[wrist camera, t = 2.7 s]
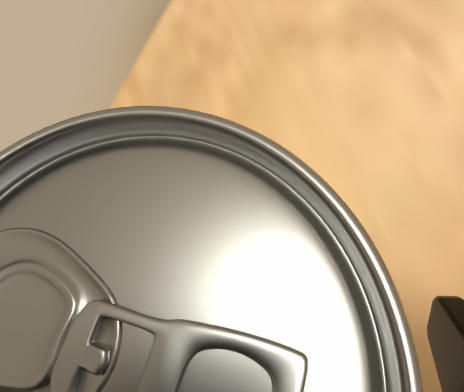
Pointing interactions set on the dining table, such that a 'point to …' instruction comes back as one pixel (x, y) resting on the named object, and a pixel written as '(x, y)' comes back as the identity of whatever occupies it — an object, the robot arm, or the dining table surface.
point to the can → (187, 265)
